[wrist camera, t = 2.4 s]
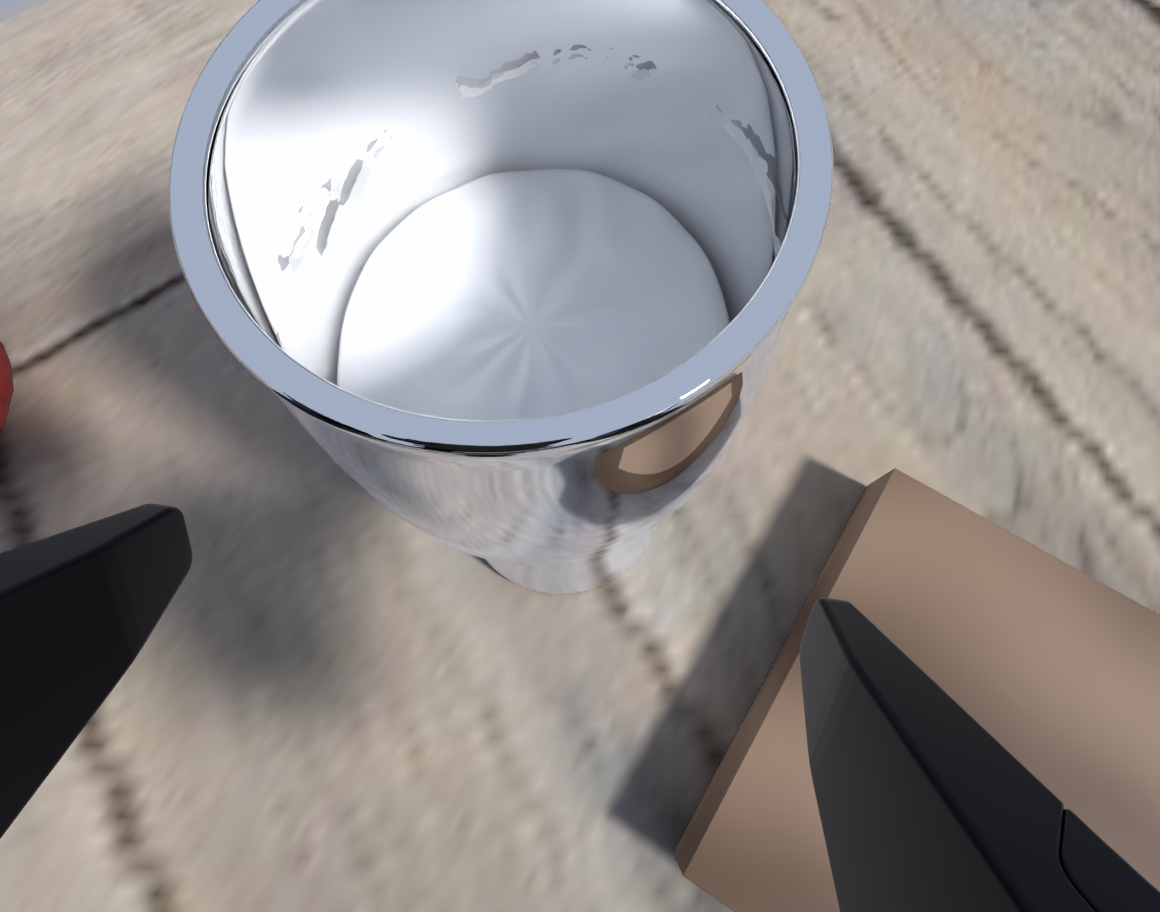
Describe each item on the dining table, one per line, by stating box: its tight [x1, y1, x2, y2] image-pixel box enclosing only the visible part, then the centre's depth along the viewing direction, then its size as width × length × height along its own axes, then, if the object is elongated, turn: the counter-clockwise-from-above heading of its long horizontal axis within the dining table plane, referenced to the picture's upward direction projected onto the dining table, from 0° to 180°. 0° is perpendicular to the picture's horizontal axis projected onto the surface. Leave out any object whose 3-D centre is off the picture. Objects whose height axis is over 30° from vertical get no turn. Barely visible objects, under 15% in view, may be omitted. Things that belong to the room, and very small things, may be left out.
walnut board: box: [674, 469, 1160, 912], centre depth 17 cm, size 12×12×2 cm
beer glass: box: [169, 0, 833, 594], centre depth 14 cm, size 7×7×15 cm
